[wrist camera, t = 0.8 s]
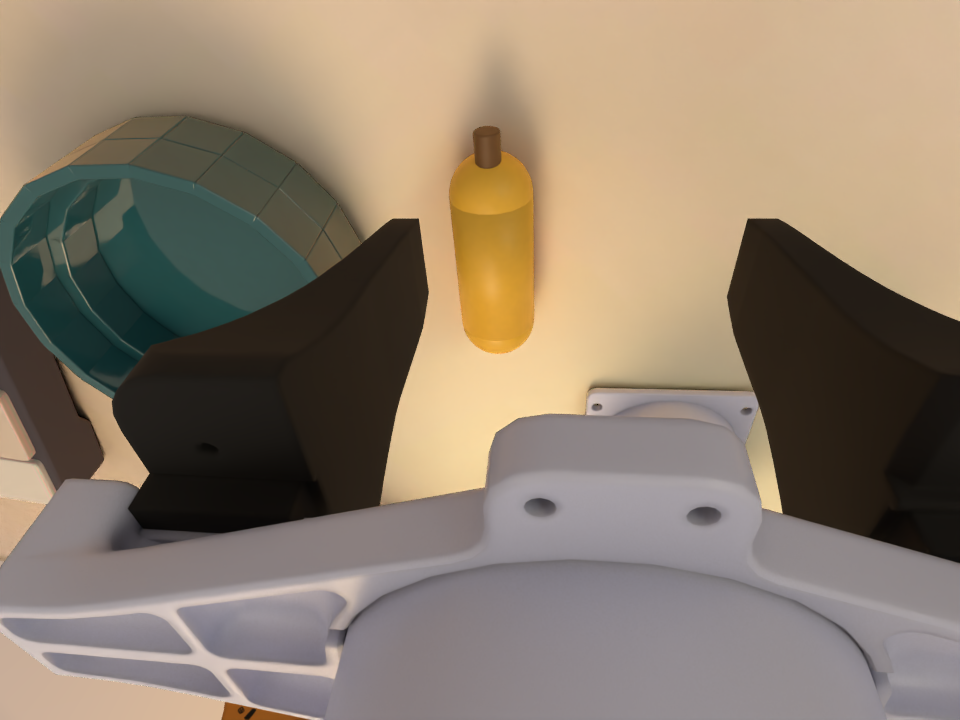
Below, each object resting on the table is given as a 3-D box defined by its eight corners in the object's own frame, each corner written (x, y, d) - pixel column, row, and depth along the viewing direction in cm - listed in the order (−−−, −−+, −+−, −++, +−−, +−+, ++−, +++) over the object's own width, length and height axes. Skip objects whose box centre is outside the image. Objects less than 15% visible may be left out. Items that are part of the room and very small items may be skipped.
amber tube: (535, 326, 27) (533, 372, 25) (469, 325, 28) (461, 370, 26) (534, 108, 21) (531, 144, 19) (448, 111, 21) (435, 146, 19)
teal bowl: (395, 372, 30) (374, 441, 27) (152, 367, 32) (105, 432, 28) (336, 106, 22) (295, 160, 18) (7, 117, 23) (-86, 168, 20)
